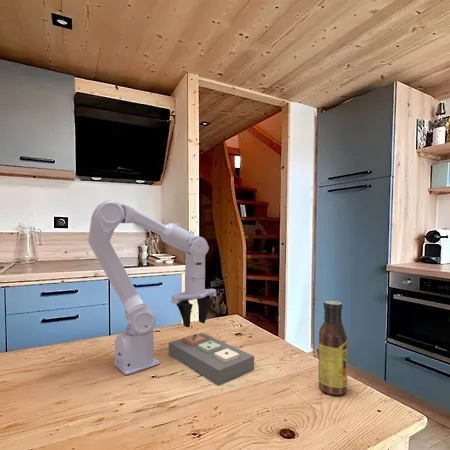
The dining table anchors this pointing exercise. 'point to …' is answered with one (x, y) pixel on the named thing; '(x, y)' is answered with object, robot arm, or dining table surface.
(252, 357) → the tile tray
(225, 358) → the tile one
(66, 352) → the dining table surface
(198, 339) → the tile three
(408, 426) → the dining table surface
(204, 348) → the tile two
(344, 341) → the sauce bottle
